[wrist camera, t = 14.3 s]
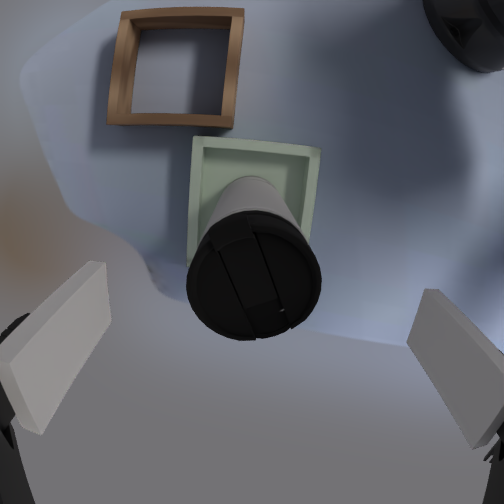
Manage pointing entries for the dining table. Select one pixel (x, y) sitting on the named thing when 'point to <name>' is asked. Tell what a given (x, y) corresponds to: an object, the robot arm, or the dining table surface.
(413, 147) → the dining table surface
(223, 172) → the tray
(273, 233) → the travel mug
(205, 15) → the holder
